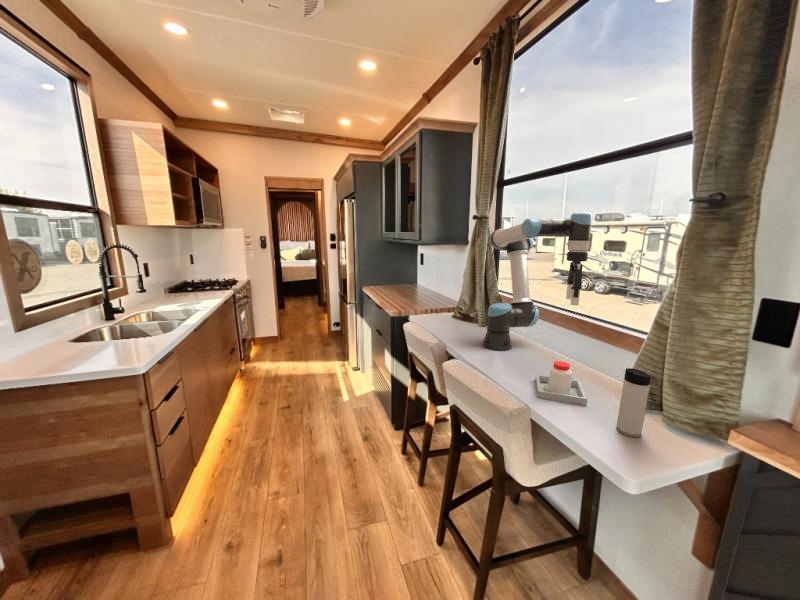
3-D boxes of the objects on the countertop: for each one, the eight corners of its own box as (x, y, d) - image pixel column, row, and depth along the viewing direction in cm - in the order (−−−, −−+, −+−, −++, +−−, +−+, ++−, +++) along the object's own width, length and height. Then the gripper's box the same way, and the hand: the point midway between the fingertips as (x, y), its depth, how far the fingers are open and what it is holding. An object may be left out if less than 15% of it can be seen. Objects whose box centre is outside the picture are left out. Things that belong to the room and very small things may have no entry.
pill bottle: (572, 396, 118) (576, 368, 116) (550, 394, 119) (553, 366, 117) (566, 387, 125) (569, 360, 123) (545, 385, 127) (548, 359, 125)
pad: (542, 383, 129) (542, 382, 129) (572, 387, 126) (572, 386, 126) (544, 395, 119) (544, 394, 119) (577, 401, 115) (577, 399, 115)
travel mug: (610, 426, 100) (619, 366, 96) (629, 425, 101) (639, 366, 97) (625, 438, 94) (636, 375, 90) (646, 437, 95) (657, 374, 91)
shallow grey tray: (535, 379, 133) (536, 374, 132) (578, 386, 127) (579, 380, 127) (537, 397, 118) (538, 391, 117) (586, 405, 112) (587, 399, 112)
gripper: (563, 250, 143) (558, 296, 147) (571, 252, 120) (565, 307, 124) (582, 250, 140) (576, 297, 144) (594, 252, 117) (587, 308, 121)
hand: (571, 302), depth 134 cm, fingers open, 13 cm apart
